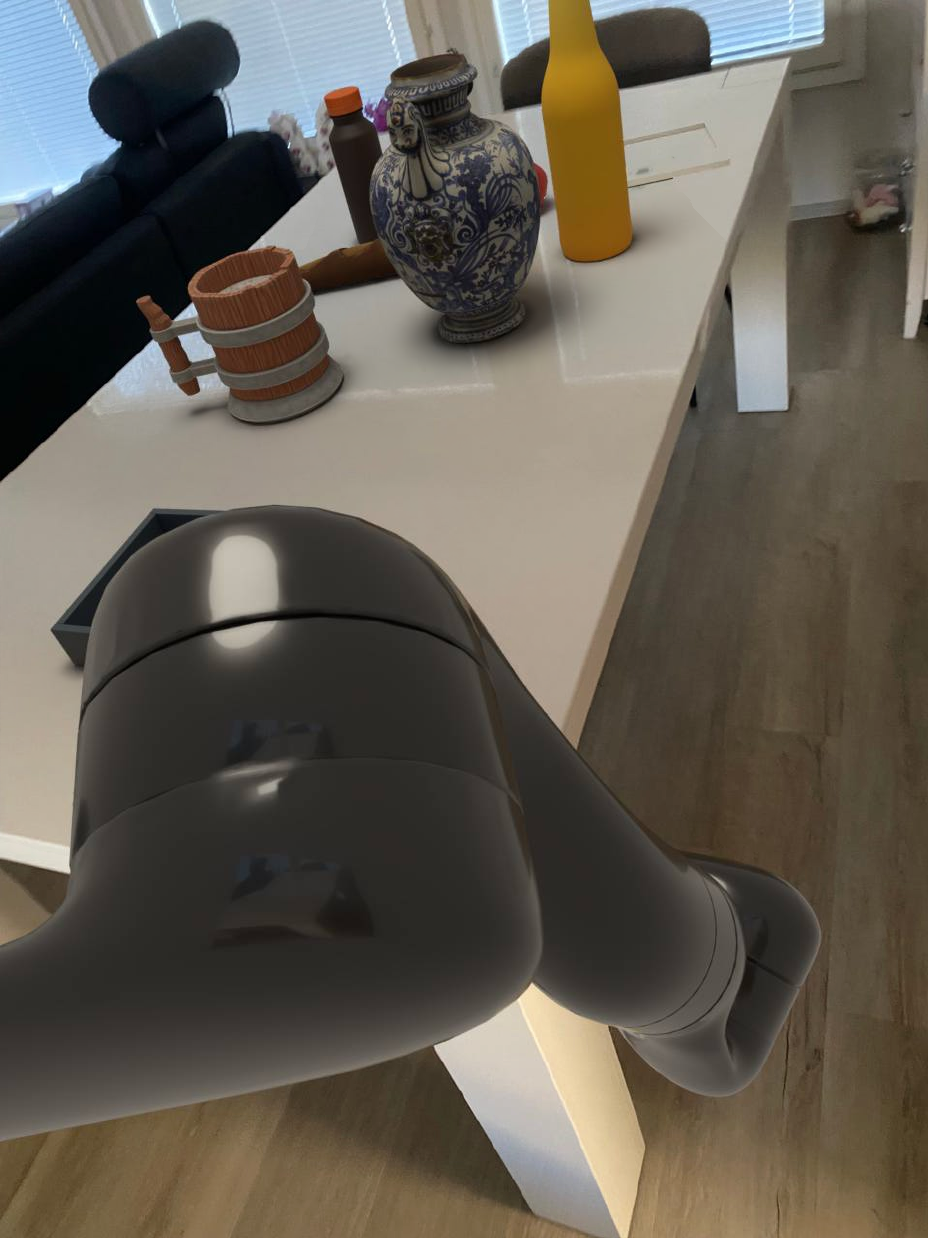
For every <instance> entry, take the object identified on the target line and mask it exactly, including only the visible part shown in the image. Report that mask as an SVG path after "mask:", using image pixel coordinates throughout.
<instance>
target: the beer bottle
mask: <svg viewBox="0 0 928 1238" xmlns="http://www.w3.org/2000/svg"><path fill="white" fill-rule="evenodd" d="M547 1H548V3H547V4H548V6H547V7H548V27H549V28H548V29H549V30H548V31H549V57H548V63H547V67H546V70H545V73H544V78H543V83H542V88H541V98H540V100H541V115H542V122H543V128H544V135H545V141H546V149H547V157H548V163H549V170H550V177H551V184H552V191H553V198H554V207H555V211H556V220H557V226H558V236H559V244H560V248H561V250H562V253H563V255H564V256H565V257H566V258H568V259H569V260H571V261H575V262H582V263H583V262H584V263H585V262H586V263H588V262H597V261H602V260H607V259H610V258H612V257H615V256H617V255H619V254H621V253H622V252H624V251H625V250H627V249H628V248H629V246H630V245H631V243H632V241H633V222H632V215H631V207H630V196H629V187H628V183H627V172H626V167H627V164H626V163H627V162H626V153H625V151H626V150H625V146H624V140H623V139H624V131H623V119H622V109H621V106H622V105H621V94H620V89H619V85H618V80H617V78H616V77H617V76H616V74H615V72H614V70H613V68H612V66H611V64H610V63H609V60H608V59H607V57H606V55H605V54H604V52H603V50H602V48H601V46H600V43H599V40H598V35H597V31H596V27H595V26H596V25H595V22H594V17H593V11H592V5H591V1H590V0H547Z"/></svg>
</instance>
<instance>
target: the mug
mask: <svg viewBox="0 0 928 1238" xmlns="http://www.w3.org/2000/svg"><path fill="white" fill-rule="evenodd" d="M299 267H300V266H299V264H298V262H297V259H296V256H295V254H294V252H293V250H291V249H290V248H284V247H278V246H277V247H276V245H266V246H265V247H261V248H254V249H251V250H250V249H249V250H244V251H239V252H236V253H233V254H231V255H230V254H229V255H228V256H225V257H224V258H222V259H219V260H218V261H215V262H214V263H212V264H210V265H207V266H205V267H203V268H201V269H200V270H198V271H196V272H195V274H194V275H193V276H192V278H191V279H190V281H189V283H188V286H187V291H188V295H189V297H190V299H191V303H192V304H193V306H194V308H195V310H196V313H197V315H196V316H192V317H187V318H183V319H178V320H172V319H171V317H170V316H169V315H168V314H166V313H165V312H164V311H163V308H162V307H160V306H159V305H158V304H156V303H155V302H153V299H152V298H151V296H150V295H145V296H142V297H140V298H138V299H137V300H136V304H137V307H138V308H139V310H140V311H141V312H142V313H143V315H144V316H145V318H146V319H147V320H148V322H149V326H150V328H149V333H150V335H151V337H152V339H153V341H154V342H155V343H157V345H158V346H159V348H160V350H161V352H162V354H163V357H164V360H166V363H167V364H168V366H169V369H168V372H169V375H170V377H171V381H172V383H174V384H176V385H177V387H178V389H180V391H182V392H183V393H184V394H185V395H186V396H187V397H192V396H195V395H197V394H199V393H200V392H201V387H200V383H199V380H198V377H204V376H207V375H212V374H217V375H218V378H219V380H220V382H221V383H222V384H223V385H224V386H226V387H228V388H229V392H228V400H227V408H228V411H229V413H231V415H232V416H233V417H235V418H237V419H239V420H242V421H245V422H249V423H252V424H253V423H254V424H271V423H272V424H273V423H278V422H282V421H286V420H290V419H295V418H297V417H299V416H302V415H304V414H307V413H309V412H311V411H312V410H314V409H317V408H318V407H319V406H320V405H322V404H324V403H325V402H327V400H329V399H330V398H331V397H332V396H333V395H334V394H335V392H337V390H338V388H339V386H340V384H341V382H342V380H343V377H344V373H343V372H344V371H343V369H342V366H341V365H340V364H339V363H338V362H337V361H336V360H334V358H333V357H331V356H330V354H328V352H329V350H330V341H329V338H328V336H327V332H326V328H325V327H324V325H323V324H322V323H321V322H319V321H318V320H317V318H316V315H315V313H314V309H315V307H316V299H315V296H314V294H313V291H312V290H311V287H310V285H309V283H308V282H307V281H306V280H304V279H302V276H301V273H300V270H299ZM198 332H199V333H200V336H201V337H202V340H203V341H204V343H206V344H207V345H210V346H211V348H212V350H213V353H214V355H215V356H213V357H210V358H206V359H201V360H196V361H192V360H190V359H189V356H188V354H187V352H186V351H185V349H184V347H183V346H182V341H181V340H180V338H179V336H184V335H189V334H193V333H198Z"/></svg>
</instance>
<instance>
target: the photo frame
mask: <svg viewBox="0 0 928 1238" xmlns="http://www.w3.org/2000/svg"><path fill="white" fill-rule="evenodd" d="M703 130H704V131H705V133H706V135H707V137H708V139H709V140H710V142H711V143H712V145H713V147H714V148H718V146H717V145H716V143H715V141H714V140H713V138H712V136H711V134H710V133H709V131H708V129H707V127H706V126H705V123H700V124H696V125H691V126H686V127H682V128H677V129H673V130H668V131H664V132H659V133H655V134H650V135H645V136H641V137H636V138H632V139H627V140H624V147H628V146H629V147H630V146H633V145H637V144H642V143H646V142H652V141H657V140H662V139H664V138H669V137H670V138H671V137H674V136H679V135H683V134H684V135H685V134H688V133H693V132H698V131H703ZM729 166H731V158H730V159H728V160H724V161H719V162H714V163H710V164H705V165H700V166H695V167H691V168H686V169H681V170H677V171H672V172H667V173H663V174H658V175H653V176H648V177H644V178H639V179H634V180H630V181H627V183H628V188H631V187H634V186H640V185H644V184H648V183H654V182H658V181H664V180H668V179H672V178H676V177H677V178H678V177H682V176H687V175H691V174H697V173H701V172H706V171H710V170H714V169H720V168H724V167H729Z"/></svg>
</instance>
